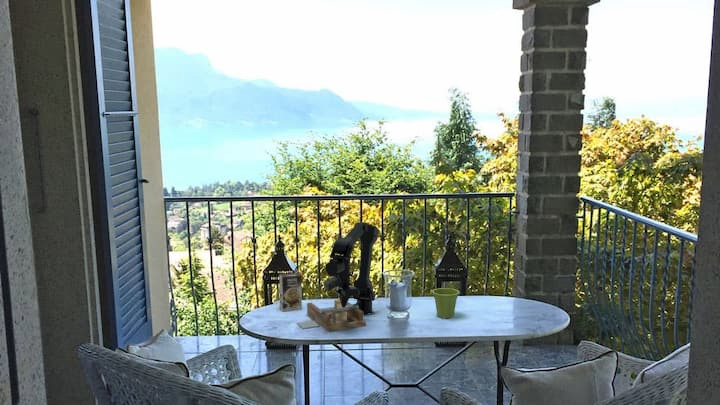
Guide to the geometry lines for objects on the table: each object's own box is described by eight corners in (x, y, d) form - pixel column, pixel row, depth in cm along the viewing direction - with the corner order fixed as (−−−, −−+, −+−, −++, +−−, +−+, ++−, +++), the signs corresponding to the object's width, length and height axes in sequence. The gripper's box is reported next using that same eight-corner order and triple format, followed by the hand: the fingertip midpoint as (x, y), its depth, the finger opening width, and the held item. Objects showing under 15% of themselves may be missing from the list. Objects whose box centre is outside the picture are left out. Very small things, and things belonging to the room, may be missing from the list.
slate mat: (313, 321, 254) (313, 320, 254) (319, 326, 247) (319, 325, 247) (296, 323, 251) (296, 322, 251) (302, 329, 244) (302, 328, 244)
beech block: (342, 320, 255) (342, 309, 254) (346, 324, 251) (346, 312, 250) (331, 322, 253) (331, 311, 252) (336, 325, 248) (336, 314, 248)
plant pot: (457, 312, 266) (458, 288, 265) (459, 320, 254) (460, 295, 253) (431, 311, 267) (431, 287, 266) (432, 319, 256) (432, 294, 254)
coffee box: (282, 311, 267) (282, 277, 265) (279, 308, 273) (278, 273, 271) (302, 309, 270) (301, 275, 268) (298, 305, 276) (297, 272, 274)
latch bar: (355, 306, 256) (355, 297, 256) (358, 308, 253) (358, 298, 253) (319, 311, 249) (319, 302, 248) (321, 313, 246) (321, 303, 246)
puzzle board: (342, 309, 270) (342, 298, 269) (365, 325, 248) (365, 313, 247) (307, 315, 262) (307, 303, 262) (328, 331, 240) (328, 318, 240)
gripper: (316, 268, 250) (317, 303, 252) (334, 278, 233) (334, 316, 235) (340, 265, 254) (341, 300, 256) (359, 274, 238) (359, 312, 240)
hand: (343, 307), depth 247 cm, fingers closed
